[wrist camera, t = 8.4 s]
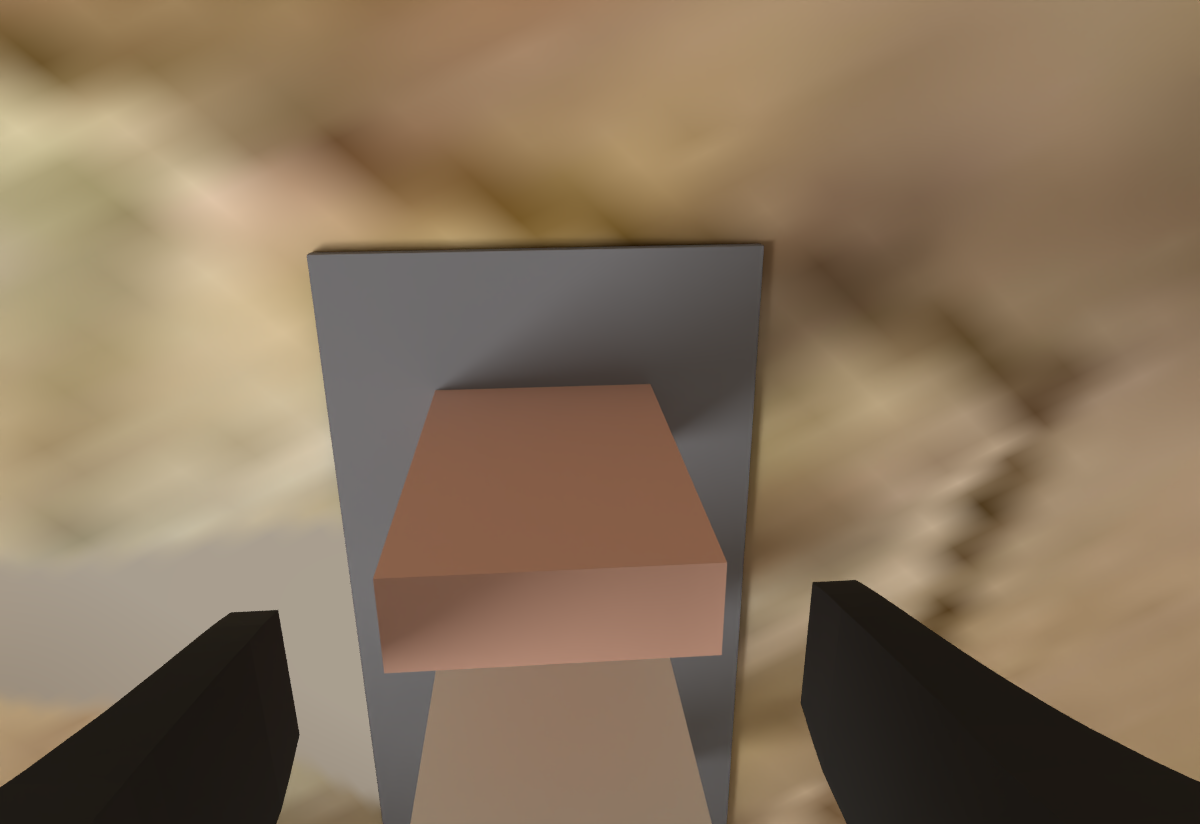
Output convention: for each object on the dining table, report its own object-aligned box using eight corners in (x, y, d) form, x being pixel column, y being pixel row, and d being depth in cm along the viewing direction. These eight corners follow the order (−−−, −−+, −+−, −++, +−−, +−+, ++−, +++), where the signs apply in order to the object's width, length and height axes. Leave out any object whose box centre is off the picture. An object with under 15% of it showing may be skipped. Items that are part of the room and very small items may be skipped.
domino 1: (649, 446, 20) (721, 655, 12) (440, 453, 19) (383, 673, 12) (650, 383, 19) (727, 562, 12) (435, 390, 19) (372, 578, 11)
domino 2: (646, 621, 21) (708, 896, 14) (455, 631, 21) (414, 919, 14) (647, 569, 21) (712, 826, 13) (451, 578, 21) (406, 848, 13)
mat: (709, 1052, 28) (711, 1061, 28) (419, 1079, 28) (418, 1088, 27) (760, 243, 18) (764, 245, 18) (310, 252, 18) (306, 255, 17)
